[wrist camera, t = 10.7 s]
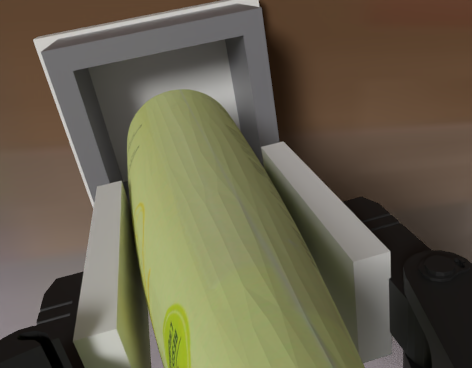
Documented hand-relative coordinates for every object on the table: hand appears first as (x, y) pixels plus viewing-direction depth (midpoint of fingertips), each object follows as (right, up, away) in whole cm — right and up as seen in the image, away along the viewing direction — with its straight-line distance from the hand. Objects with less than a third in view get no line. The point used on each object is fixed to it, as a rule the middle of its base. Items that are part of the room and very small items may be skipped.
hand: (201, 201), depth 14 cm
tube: (-1, +3, +6) cm, 7 cm away
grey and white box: (-3, +6, +13) cm, 14 cm away
